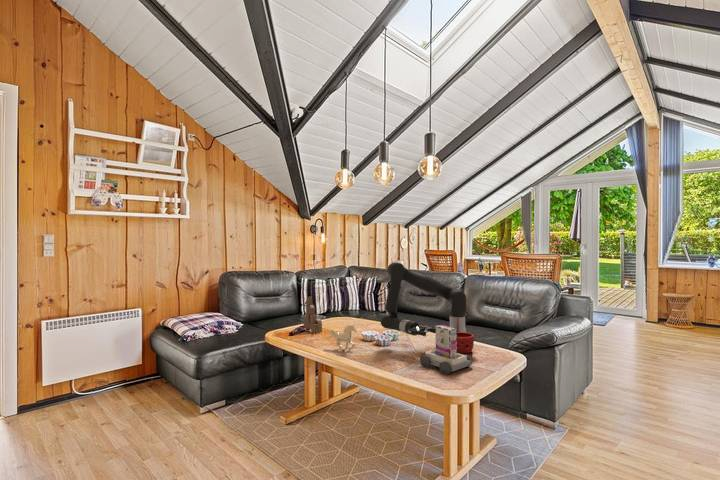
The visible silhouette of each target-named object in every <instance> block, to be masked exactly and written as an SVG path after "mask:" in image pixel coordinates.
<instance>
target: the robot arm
mask: <svg viewBox="0 0 720 480" xmlns="http://www.w3.org/2000/svg"><path fill="white" fill-rule="evenodd" d="M387 272H388V275H389V276H390V285H389V288H388V292H387V294H386V295H387V296H386V301H385V308H384V309H385V312H388V313H389V315H386V316H385V315H384V316H383V317H381V319H380V325H381V327H382V328H384V329H388V330H394V331H397V332H400V333H401V332H402V333H404V334H407V335H411V336H423V337H426V336H427V334H428V333H432V334H436V328H434V326H430V325H426V324H424V325H420V324H419V323H418V322H417V321H414V320H410V319H403V318H399V316H398V304H399V298H400V297H399V296H400V289H401V285H402V282H403V281H404V282H407V283H408V284H410V285H412V286H414V288H415V287H416V288H417V289H418V290H421V291H424V292H425V293H428V294H432V295H435V296H438V297H441V298H443V299H445V300H446V301H448V302H450V303H451V310H450V311H449V327H451V328H455V329H457V332H465V333H467V328H466V312H467V295H466V293H465V292H464V291H462V290H459V289H457V288H456V289H455V288H453V287H449V286H447V285H444V284H443V283H441V282H440V281H439V280H437V279H435V278H433V277H432V276H430V275H429V276H428V275H426V274H424V273H420V272H416V271H413V270H411V269H408V268H406V267H405V266H404V264H402V263H401V262H398V261H397V262H395V261H394V262H391V263H390V264H388V266H387Z"/></svg>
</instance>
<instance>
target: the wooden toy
mask: <svg viewBox="0 0 720 480" xmlns="http://www.w3.org/2000/svg"><path fill="white" fill-rule="evenodd" d="M304 305H305V316H304V317H303V321H302V323H303V326H304V327H305V328H306V329H307V330H310V329H311V330H310V331H311V334H313V333H318V334H320V333H319V332H321V333H323V321H322V319H321V318H319V317H318V318H317V314H316V307H315V305H314V304H313V296H308V297H307V299H306V300H305V301H304Z"/></svg>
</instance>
